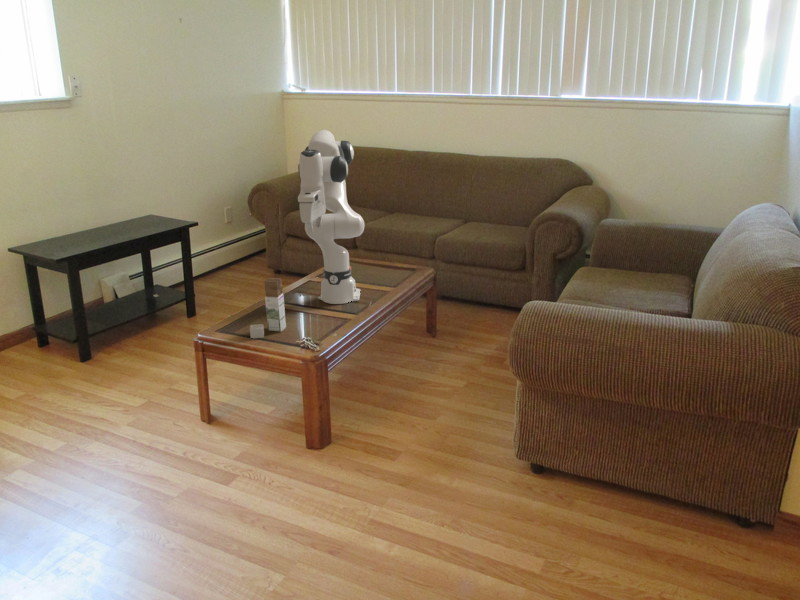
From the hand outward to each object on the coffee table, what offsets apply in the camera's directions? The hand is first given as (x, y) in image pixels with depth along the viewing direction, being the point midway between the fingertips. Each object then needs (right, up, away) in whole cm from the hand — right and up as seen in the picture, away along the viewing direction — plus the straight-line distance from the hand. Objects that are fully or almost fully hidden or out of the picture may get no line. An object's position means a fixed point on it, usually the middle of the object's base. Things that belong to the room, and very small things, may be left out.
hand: (314, 229), depth 263 cm
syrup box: (-16, -39, +9) cm, 43 cm away
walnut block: (-16, -25, +4) cm, 30 cm away
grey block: (-23, -41, +2) cm, 47 cm away
